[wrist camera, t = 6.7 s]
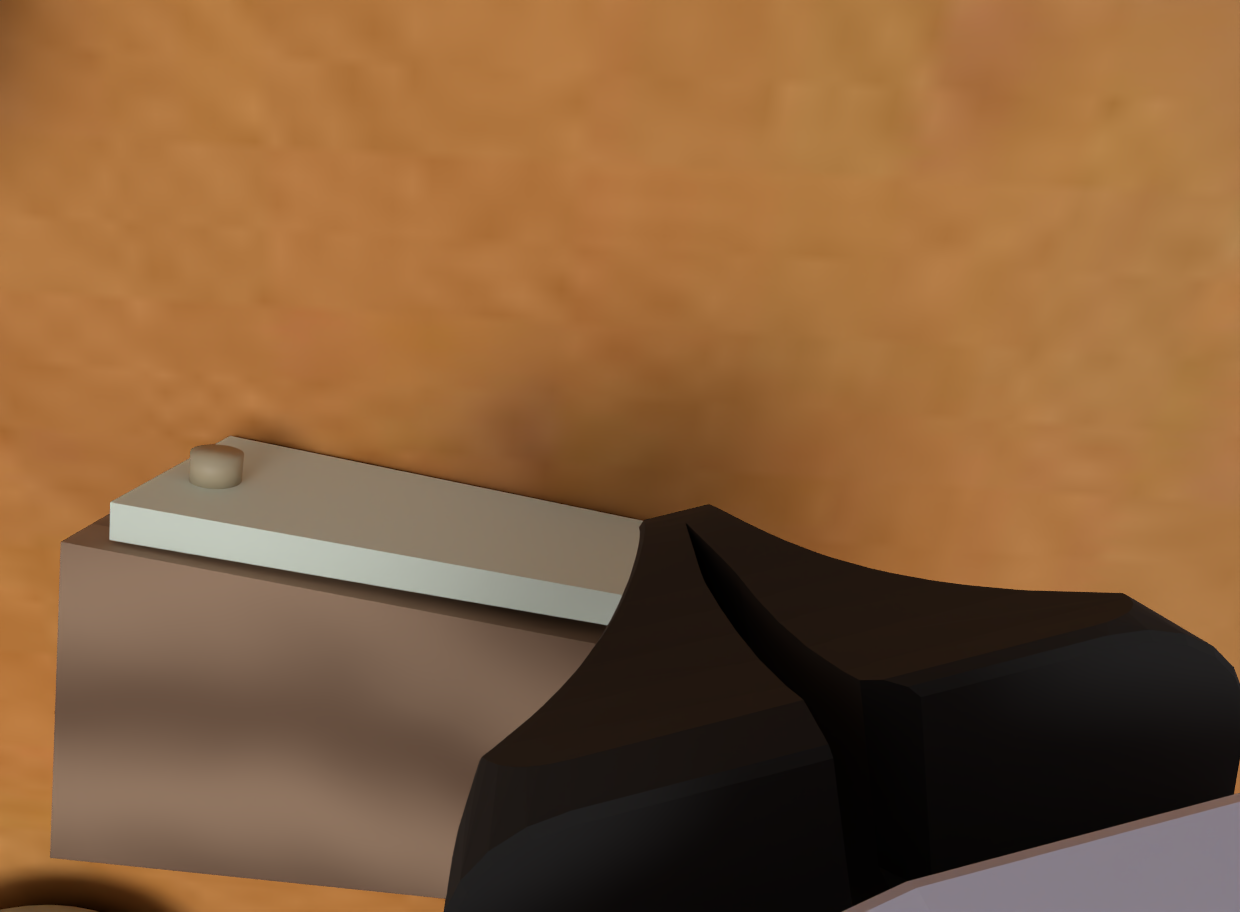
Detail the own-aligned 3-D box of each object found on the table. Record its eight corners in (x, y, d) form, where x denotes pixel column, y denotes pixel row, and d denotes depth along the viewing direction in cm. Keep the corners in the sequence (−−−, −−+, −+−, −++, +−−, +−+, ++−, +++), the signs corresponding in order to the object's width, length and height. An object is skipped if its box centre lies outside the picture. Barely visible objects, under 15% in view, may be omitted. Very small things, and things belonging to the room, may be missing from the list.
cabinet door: (655, 549, 22) (687, 638, 17) (228, 464, 19) (109, 540, 14) (670, 505, 22) (706, 584, 16) (232, 412, 19) (111, 470, 14)
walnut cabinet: (590, 767, 25) (601, 914, 20) (178, 704, 22) (50, 857, 17) (663, 561, 23) (700, 663, 17) (204, 459, 20) (61, 541, 14)
